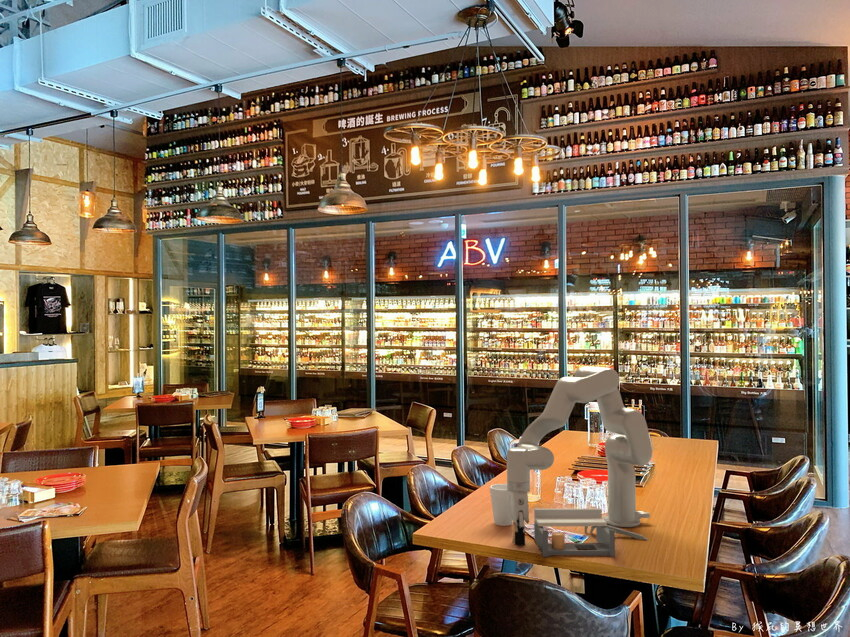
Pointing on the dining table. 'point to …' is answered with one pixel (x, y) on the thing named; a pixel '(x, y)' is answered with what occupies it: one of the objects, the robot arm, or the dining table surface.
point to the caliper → (621, 532)
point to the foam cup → (501, 504)
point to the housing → (561, 548)
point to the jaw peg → (514, 532)
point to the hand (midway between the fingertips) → (518, 541)
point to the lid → (569, 517)
